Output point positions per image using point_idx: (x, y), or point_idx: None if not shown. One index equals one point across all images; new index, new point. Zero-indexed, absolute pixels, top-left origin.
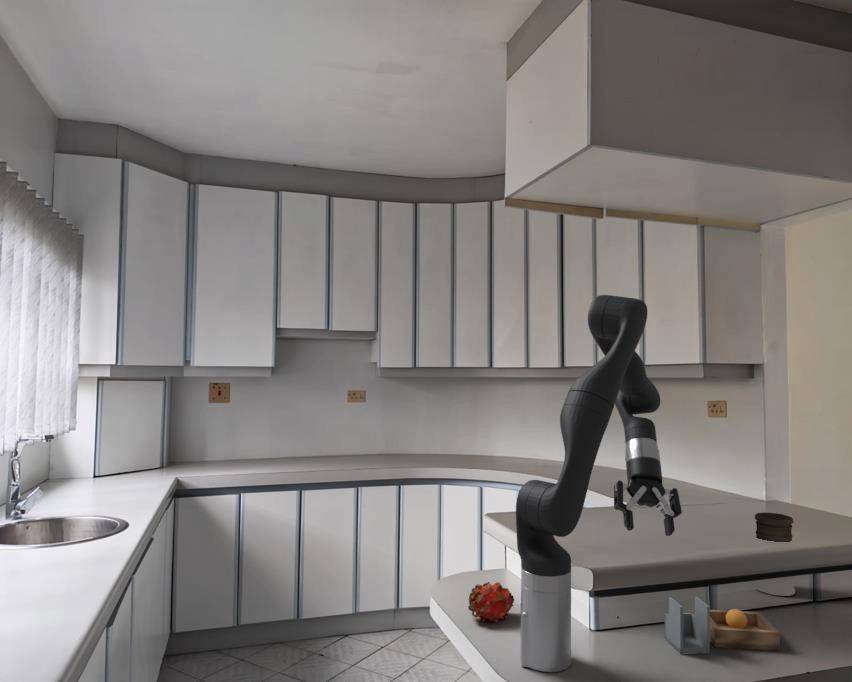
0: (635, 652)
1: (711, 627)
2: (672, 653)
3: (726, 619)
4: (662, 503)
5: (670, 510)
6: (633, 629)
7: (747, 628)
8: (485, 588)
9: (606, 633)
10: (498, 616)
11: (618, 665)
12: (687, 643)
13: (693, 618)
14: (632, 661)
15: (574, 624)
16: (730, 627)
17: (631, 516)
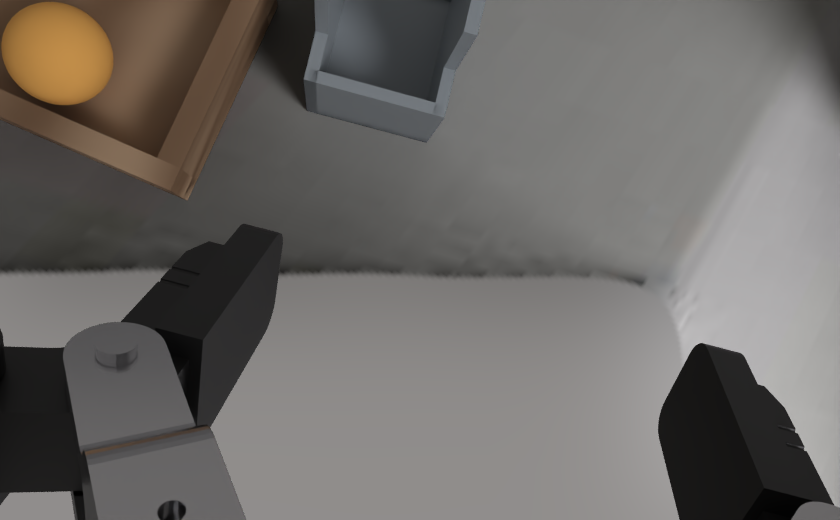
0: (612, 74)
1: (250, 27)
2: (482, 21)
3: (107, 74)
4: (219, 462)
5: (98, 385)
6: (499, 256)
7: None
8: None
9: (626, 254)
10: None
11: (725, 10)
12: (393, 36)
13: (324, 52)
14: (662, 18)
15: None
16: None
17: (759, 430)
